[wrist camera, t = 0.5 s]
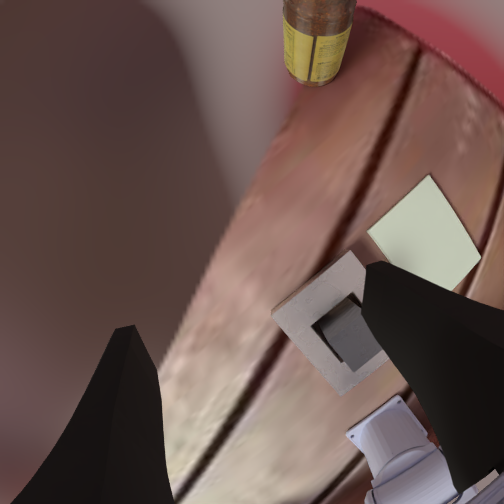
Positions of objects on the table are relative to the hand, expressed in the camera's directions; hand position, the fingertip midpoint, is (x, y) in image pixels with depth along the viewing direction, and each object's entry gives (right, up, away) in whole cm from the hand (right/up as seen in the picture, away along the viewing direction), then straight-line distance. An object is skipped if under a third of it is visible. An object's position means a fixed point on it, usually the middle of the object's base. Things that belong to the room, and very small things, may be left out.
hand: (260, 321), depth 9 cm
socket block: (+9, -5, +23) cm, 25 cm away
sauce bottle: (+6, +23, +22) cm, 33 cm away
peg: (+9, -5, +23) cm, 25 cm away
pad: (+19, +3, +22) cm, 29 cm away
